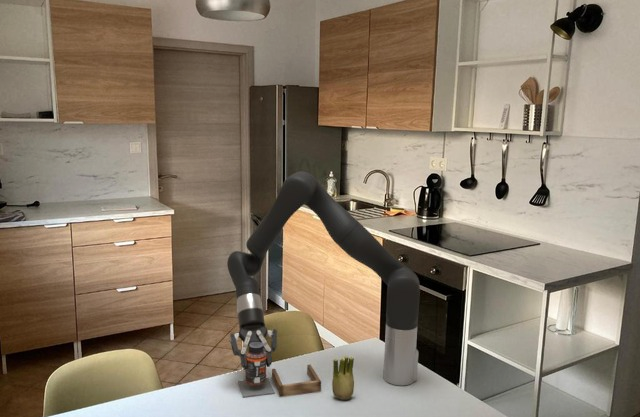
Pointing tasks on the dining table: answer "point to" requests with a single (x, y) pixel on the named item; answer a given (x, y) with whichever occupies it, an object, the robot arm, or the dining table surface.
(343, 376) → the fennel bulb
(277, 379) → the walnut stall
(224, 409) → the dining table surface
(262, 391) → the slate mat
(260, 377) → the supplement bottle
